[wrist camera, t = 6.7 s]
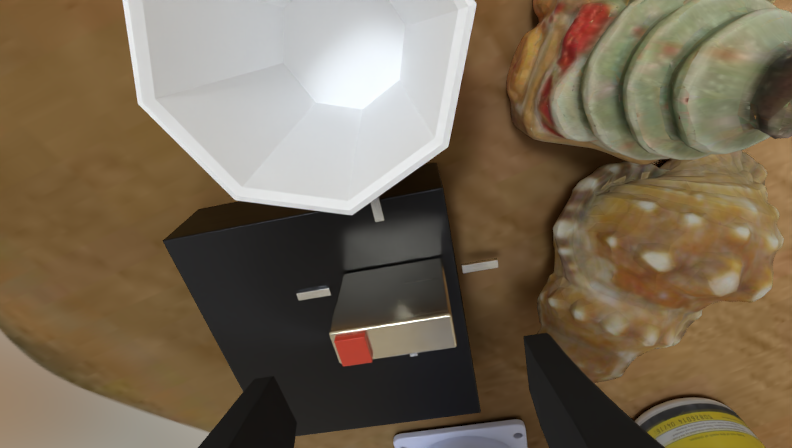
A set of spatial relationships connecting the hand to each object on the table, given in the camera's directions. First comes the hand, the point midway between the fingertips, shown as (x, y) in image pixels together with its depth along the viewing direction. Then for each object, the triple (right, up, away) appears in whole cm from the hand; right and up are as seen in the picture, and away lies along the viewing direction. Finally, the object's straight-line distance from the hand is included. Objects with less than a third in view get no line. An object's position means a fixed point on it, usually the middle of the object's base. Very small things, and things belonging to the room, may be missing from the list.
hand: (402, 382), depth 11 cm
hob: (-3, +1, +9) cm, 9 cm away
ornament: (+7, +12, +3) cm, 14 cm away
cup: (-1, +12, +3) cm, 13 cm away
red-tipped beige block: (0, +2, +5) cm, 5 cm away
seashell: (+10, +4, +7) cm, 13 cm away
